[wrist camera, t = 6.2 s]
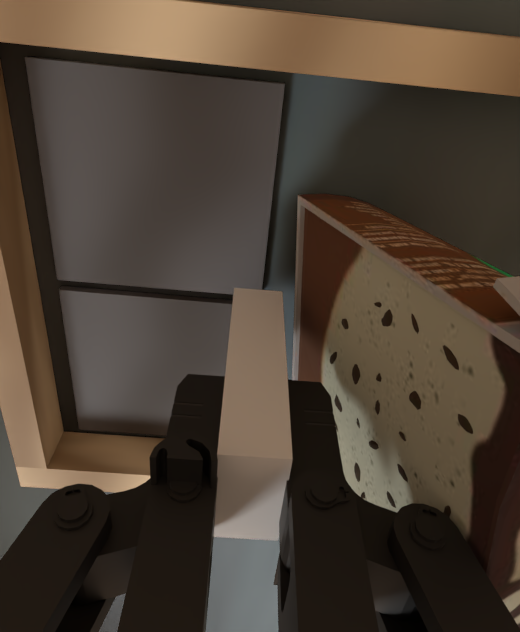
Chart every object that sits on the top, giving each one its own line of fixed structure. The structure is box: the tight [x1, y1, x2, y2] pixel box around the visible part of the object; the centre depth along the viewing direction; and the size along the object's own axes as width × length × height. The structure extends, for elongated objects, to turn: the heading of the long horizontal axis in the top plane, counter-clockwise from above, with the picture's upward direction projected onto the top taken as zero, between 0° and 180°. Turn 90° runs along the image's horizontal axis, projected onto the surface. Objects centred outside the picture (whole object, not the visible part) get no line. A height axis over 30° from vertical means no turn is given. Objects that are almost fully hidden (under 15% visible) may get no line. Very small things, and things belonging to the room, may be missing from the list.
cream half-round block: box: [292, 194, 520, 628], centre depth 13 cm, size 12×6×10 cm, turn 1°
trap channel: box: [0, 0, 520, 493], centre depth 17 cm, size 30×17×2 cm, turn 85°
